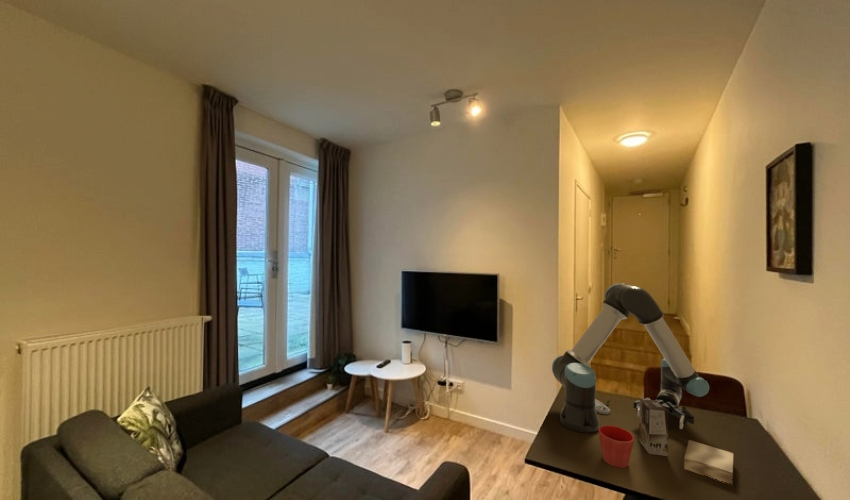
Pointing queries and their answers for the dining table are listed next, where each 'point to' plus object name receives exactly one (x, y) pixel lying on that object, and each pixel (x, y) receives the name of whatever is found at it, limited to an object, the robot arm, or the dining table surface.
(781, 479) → the dining table surface
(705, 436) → the dining table surface
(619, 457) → the flower pot
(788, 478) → the dining table surface
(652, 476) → the dining table surface
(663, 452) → the coffee box
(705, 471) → the stand
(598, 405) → the game controller
